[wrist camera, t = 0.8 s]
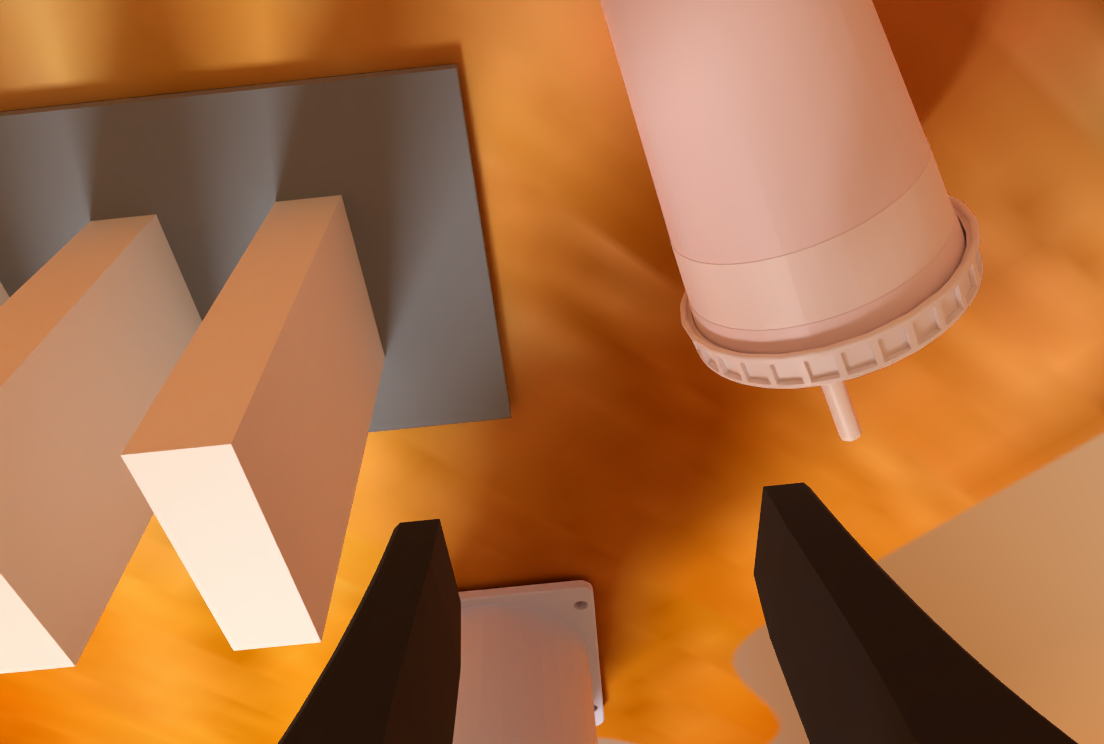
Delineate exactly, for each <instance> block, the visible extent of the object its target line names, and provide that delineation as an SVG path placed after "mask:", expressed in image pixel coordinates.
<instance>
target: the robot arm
mask: <svg viewBox="0 0 1104 744" xmlns="http://www.w3.org/2000/svg"><path fill="white" fill-rule="evenodd" d="M754 577H755V581H756V585H757V589H758V593H759V597H760V602H761V606H762V610H763V613H764V617H765V621H766V625H767V628H768V632H769V636H770V639H771V641H772V644H773V647H774V649H775V652H776V655H777V658H778V661H779V663H780V666H781V669H782V671H783V674H784V677H785V679H786V682H787V685H788V687H789V690H790V692H791V695H792V698H793V700H794V703H795V706H796V708H797V710H798V713H799V716H800V718H801V721H802V724H803V726H804V729H805V732H806V734H807V737H808V739H809V742H810V744H1078V743H1076V742H1075V741H1074V740H1073V739H1071V738H1070V737H1069V736H1067V735H1066V734H1065V733H1064V732H1062V731H1061V730H1060V729H1059V728H1057V727H1056V726H1055V725H1053V724H1052V723H1051V722H1050V721H1048V720H1047V719H1046V718H1045V717H1043V716H1042V715H1041V714H1039V713H1038V712H1037V711H1036V710H1034V709H1033V708H1032V707H1031V706H1030V705H1028V704H1027V703H1026V702H1025V701H1023V700H1022V699H1021V698H1020V697H1019V696H1018V695H1016V694H1015V693H1014V692H1013V691H1011V690H1010V689H1009V688H1008V687H1007V686H1005V685H1004V684H1003V683H1002V682H1001V681H1000V680H998V679H997V678H996V677H995V676H994V675H993V674H991V673H990V672H989V671H988V670H987V669H986V668H984V667H983V666H982V665H981V664H980V663H979V662H978V661H977V660H976V659H974V658H973V657H972V656H971V655H970V654H969V653H968V652H967V651H965V650H964V649H963V648H962V647H961V646H960V645H959V644H958V643H957V642H956V641H955V640H953V639H952V638H951V637H950V636H949V635H948V634H947V633H946V632H945V631H944V630H943V629H942V628H941V627H940V626H939V625H938V624H936V623H935V622H934V621H933V620H932V619H931V618H930V617H929V616H928V615H927V614H926V613H925V612H924V611H923V610H922V609H921V608H920V607H919V606H918V605H917V604H916V603H915V602H914V601H913V600H912V599H911V598H910V597H909V596H908V595H907V594H906V593H905V592H904V591H903V590H902V589H901V588H900V587H899V586H898V585H897V584H896V583H895V582H894V581H893V580H892V578H890V576H889V575H888V574H887V573H886V572H885V571H884V570H883V569H882V568H881V567H880V566H879V565H878V564H877V563H876V562H875V561H874V560H873V559H872V558H871V556H870V555H869V554H868V553H867V552H866V551H865V550H864V549H863V548H862V547H861V546H860V544H859V543H858V542H857V541H856V540H855V539H854V538H853V537H852V536H851V535H850V533H849V532H848V531H847V530H846V529H845V528H844V527H843V526H842V524H841V523H840V522H839V521H838V520H837V519H836V518H835V516H834V515H833V514H832V513H831V512H830V511H829V510H828V508H827V507H826V506H825V505H824V504H823V503H822V501H821V500H820V499H819V498H818V497H817V496H816V494H815V493H814V492H813V491H812V490H811V488H810V487H808V486H807V485H806V484H805V483H795V484H785V485H775V486H764V487H763V495H762V504H761V513H760V522H759V531H758V540H757V549H756V558H755V567H754ZM603 721H604V709H603V697H602V686H601V674H600V663H599V651H598V640H597V628H596V617H595V605H594V594H593V587H592V585H591V584H590V583H589V582H587V581H584V580H575V581H565V582H555V583H544V584H534V585H524V586H514V587H504V588H494V589H484V590H474V591H463V592H458V589H457V585H456V581H455V577H454V573H453V569H452V566H451V562H450V558H449V554H448V550H447V546H446V542H445V538H444V534H443V530H442V526H441V522H440V519H434V520H424V521H414V522H404V523H399V525H398V526H397V527H396V528H395V529H394V531H393V533H392V536H391V538H390V540H389V543H388V545H387V547H386V550H385V552H384V554H383V556H382V559H381V561H380V563H379V565H378V567H377V570H376V572H375V574H374V576H373V578H372V580H371V582H370V584H369V586H368V588H367V590H366V592H365V594H364V596H363V598H362V601H361V603H360V605H359V606H358V608H357V610H356V612H355V614H354V616H353V618H352V620H351V621H350V623H349V625H348V627H347V629H346V631H345V633H344V635H343V636H342V638H341V640H340V642H339V644H338V646H337V648H336V650H335V651H334V653H333V655H332V657H331V658H330V660H329V662H328V664H327V665H326V667H325V669H324V670H323V672H322V674H321V675H320V677H319V679H318V680H317V682H316V684H315V685H314V687H313V689H312V690H311V692H310V694H309V695H308V697H307V699H306V700H305V702H304V704H303V705H302V707H301V709H300V710H299V712H298V713H297V715H296V717H295V718H294V720H293V721H292V723H291V724H290V726H289V727H288V729H287V730H286V732H285V733H284V735H283V737H282V738H281V740H280V741H279V742H278V744H598V742H597V733H596V726H598V725H600V724H601V723H602V722H603Z"/></svg>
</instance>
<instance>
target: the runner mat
mask: <svg viewBox="0 0 1104 744" xmlns="http://www.w3.org/2000/svg"><path fill="white" fill-rule="evenodd" d="M336 195H342V199H343V203H344V206H345V210H346V214H347V218H348V221H349V225H350V229H351V233H352V236H353V240H354V244H355V247H356V251H357V255H358V259H359V262H360V266H361V270H362V274H363V277H364V281H365V285H366V288H367V292H368V296H369V300H370V303H371V307H372V311H373V314H374V318H375V322H376V326H377V329H378V333H379V337H380V341H381V344H382V348H383V352H384V355H385V360H384V365H383V369H382V374H381V378H380V383H379V387H378V392H377V396H376V400H375V405H374V409H373V414H372V418H371V423H370V427H369V432H376V431H386V430H396V429H406V428H415V427H425V426H435V425H445V424H455V423H465V422H475V421H485V420H495V419H505V418H511V409H510V402H509V396H508V389H507V383H506V376H505V370H504V363H503V357H502V350H501V344H500V337H499V331H498V325H497V318H496V312H495V305H494V299H493V292H492V286H491V279H490V273H489V266H488V260H487V254H486V247H485V241H484V234H483V228H482V221H481V215H480V208H479V202H478V195H477V189H476V183H475V176H474V170H473V163H472V157H471V150H470V144H469V137H468V131H467V124H466V118H465V111H464V105H463V99H462V92H461V86H460V79H459V73H458V66H457V64H448V65H439V66H429V67H420V68H410V69H401V70H391V71H382V72H373V73H363V74H354V75H344V76H335V77H325V78H316V79H306V80H297V81H287V82H278V83H268V84H259V85H249V86H240V87H231V88H221V89H212V90H202V91H193V92H183V93H174V94H164V95H155V96H145V97H136V98H126V99H117V100H108V101H98V102H89V103H79V104H70V105H60V106H51V107H41V108H32V109H22V110H13V111H3V112H0V282H1V284H2V285H3V287H4V289H5V290H6V292H7V294H8V295H9V297H11V296H12V295H13V294H14V293H15V292H16V291H17V290H18V289H19V288H20V287H22V286H23V285H24V284H25V283H26V282H27V281H28V280H29V279H30V278H31V277H32V276H33V275H34V274H35V273H36V272H37V271H38V270H39V269H40V268H42V267H43V266H44V265H45V264H46V263H47V262H48V261H49V260H50V259H51V258H52V257H53V256H54V255H55V254H56V253H57V252H58V251H59V250H60V249H62V248H63V247H64V246H65V245H66V244H67V243H68V242H69V241H70V240H71V239H72V238H73V237H74V236H75V235H76V234H77V233H78V232H79V231H80V230H82V229H83V228H84V227H85V226H86V225H87V224H88V223H89V222H90V221H96V220H106V219H116V218H125V217H135V216H144V215H154V214H156V215H157V218H158V220H159V222H160V225H161V227H162V229H163V232H164V234H165V236H166V239H167V241H168V243H169V246H170V248H171V250H172V253H173V255H174V257H175V260H176V262H177V264H178V267H179V269H180V271H181V273H182V276H183V278H184V280H185V283H186V285H187V287H188V290H189V292H190V294H191V297H192V299H193V301H194V304H195V306H196V308H197V311H198V313H199V315H200V318H201V320H202V321H203V319H204V318H205V316H206V315H207V313H208V311H209V310H210V308H211V306H212V305H213V303H214V301H215V300H216V298H217V297H218V295H219V293H220V292H221V290H222V288H223V287H224V285H225V283H226V282H227V280H228V279H229V277H230V275H231V274H232V272H233V270H234V269H235V267H236V265H237V264H238V262H239V261H240V259H241V257H242V256H243V254H244V252H245V251H246V249H247V247H248V246H249V244H250V243H251V241H252V239H253V238H254V236H255V234H256V233H257V231H258V229H259V228H260V226H261V225H262V223H263V221H264V220H265V218H266V216H267V215H268V213H269V212H270V210H271V208H272V207H273V205H274V203H275V202H279V201H288V200H298V199H308V198H317V197H327V196H336Z"/></svg>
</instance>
